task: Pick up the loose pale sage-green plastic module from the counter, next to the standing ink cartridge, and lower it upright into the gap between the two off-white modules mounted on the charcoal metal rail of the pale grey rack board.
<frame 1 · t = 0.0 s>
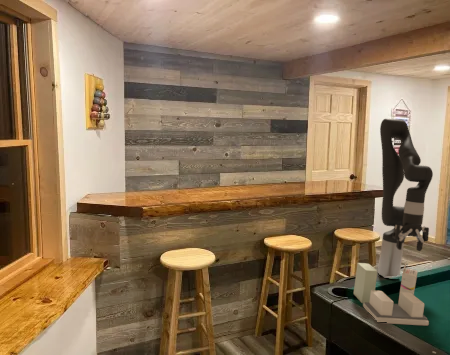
hand: (408, 249, 157), 17 cm above the table, tool pointing down, fingers open, 8 cm apart
ink cartridge box: (405, 300, 148), on the table
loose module: (363, 298, 146), on the table
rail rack: (394, 315, 133), on the table
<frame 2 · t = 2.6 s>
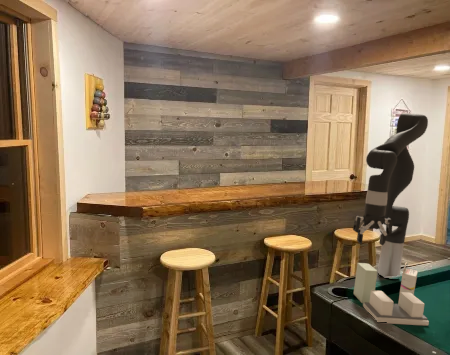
hand: (370, 243, 143), 22 cm above the table, tool pointing down, fingers open, 8 cm apart
nothing on the table moved.
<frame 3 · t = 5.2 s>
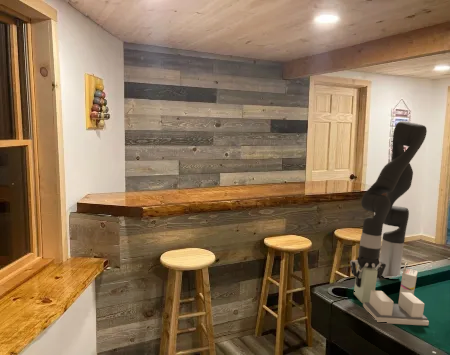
hand: (364, 286, 145), 5 cm above the table, tool pointing down, fingers closed on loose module, 4 cm apart
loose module: (363, 298, 146), on the table, touching gripper
everything else where it was.
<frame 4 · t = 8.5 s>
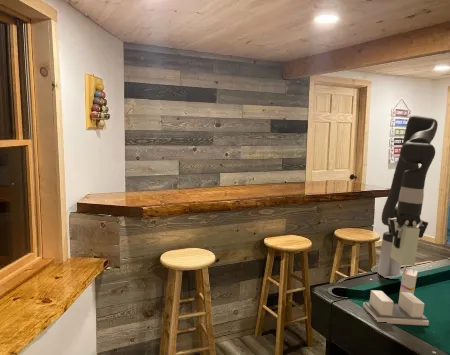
hand: (403, 248, 130), 25 cm above the table, tool pointing down, fingers closed on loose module, 4 cm apart
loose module: (402, 261, 131), point 20 cm above the table, touching gripper
everything else where it was.
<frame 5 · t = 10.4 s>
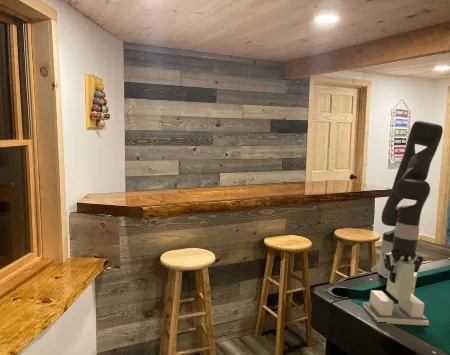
hand: (399, 282, 131), 13 cm above the table, tool pointing down, fingers closed on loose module, 4 cm apart
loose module: (397, 295, 132), point 8 cm above the table, touching gripper
everything else where it was.
when the fingers open (9 cm above the table, at t = 11.9 s): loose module drops 2 cm, resting on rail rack.
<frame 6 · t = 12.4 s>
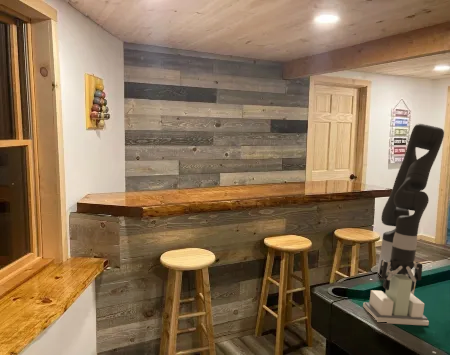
hand: (397, 289, 132), 10 cm above the table, tool pointing down, fingers open, 8 cm apart
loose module: (395, 310, 133), point 2 cm above the table, touching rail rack
everything else where it was.
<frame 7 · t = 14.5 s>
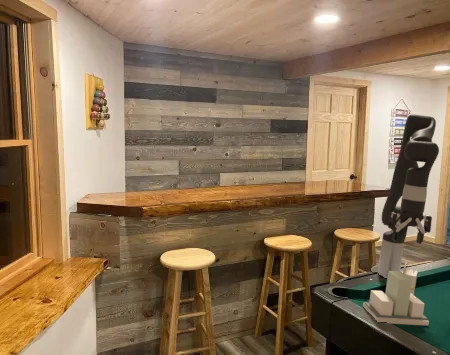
hand: (406, 242, 133), 27 cm above the table, tool pointing down, fingers open, 8 cm apart
nothing on the table moved.
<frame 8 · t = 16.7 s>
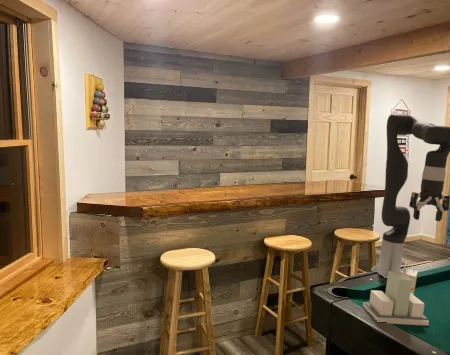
hand: (426, 220, 143), 33 cm above the table, tool pointing down, fingers open, 8 cm apart
nothing on the table moved.
at the end: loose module 0.0 cm off-centre on the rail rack, point 2.1 cm above the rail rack's base; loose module tilted 0°; the gripper is holding nothing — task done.
